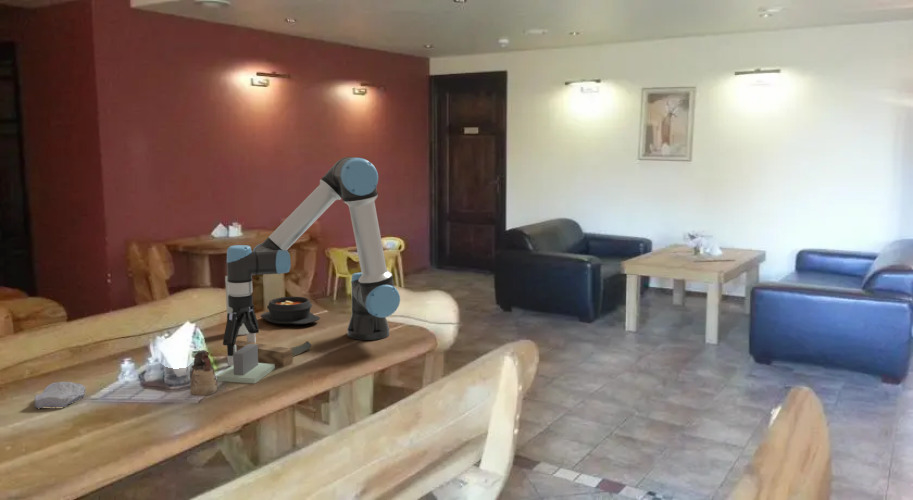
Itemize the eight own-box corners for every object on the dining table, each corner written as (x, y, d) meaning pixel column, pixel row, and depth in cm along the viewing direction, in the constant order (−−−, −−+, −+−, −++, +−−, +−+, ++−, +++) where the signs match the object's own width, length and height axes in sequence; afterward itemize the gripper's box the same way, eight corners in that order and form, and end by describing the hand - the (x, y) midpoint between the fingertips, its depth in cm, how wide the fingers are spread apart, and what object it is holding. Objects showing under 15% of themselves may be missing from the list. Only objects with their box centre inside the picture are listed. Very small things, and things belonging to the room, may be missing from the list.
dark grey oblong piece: (282, 360, 238) (282, 349, 238) (274, 357, 242) (274, 346, 241) (316, 352, 247) (316, 342, 247) (308, 350, 251) (308, 339, 250)
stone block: (88, 399, 207) (50, 393, 206) (90, 383, 206) (53, 377, 205) (70, 417, 195) (30, 411, 194) (72, 400, 195) (32, 394, 193)
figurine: (210, 385, 214) (208, 345, 212) (222, 391, 209) (220, 350, 207) (186, 391, 209) (184, 350, 207) (197, 397, 204) (195, 355, 202)
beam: (292, 364, 235) (292, 348, 234) (283, 368, 231) (283, 352, 230) (238, 354, 244) (237, 340, 243) (228, 358, 240) (228, 343, 239)
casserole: (330, 321, 287) (330, 300, 286) (296, 332, 271) (296, 309, 270) (284, 312, 300) (283, 292, 299) (249, 322, 284) (248, 301, 283)
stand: (274, 368, 229) (274, 343, 228) (254, 383, 215) (253, 357, 214) (238, 366, 231) (237, 341, 230) (216, 380, 218) (215, 354, 216)
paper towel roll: (254, 332, 270) (252, 275, 266) (241, 336, 265) (238, 277, 261) (240, 329, 274) (238, 272, 270) (227, 333, 268) (225, 275, 265)
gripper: (247, 285, 248) (248, 347, 251) (209, 302, 223) (212, 369, 227) (268, 286, 246) (269, 348, 250) (232, 303, 222) (235, 371, 225)
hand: (242, 358), depth 238 cm, fingers open, 13 cm apart
